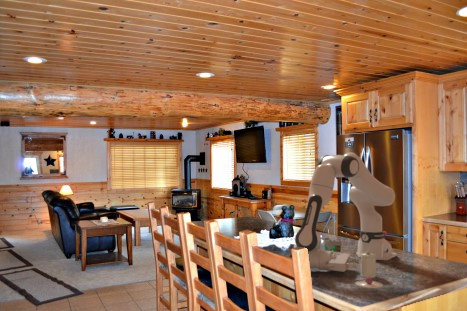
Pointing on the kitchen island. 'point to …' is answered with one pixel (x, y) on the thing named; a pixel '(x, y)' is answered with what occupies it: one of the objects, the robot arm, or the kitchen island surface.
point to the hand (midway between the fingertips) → (358, 263)
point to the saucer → (372, 285)
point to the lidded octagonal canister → (368, 264)
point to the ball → (369, 280)
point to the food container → (332, 245)
